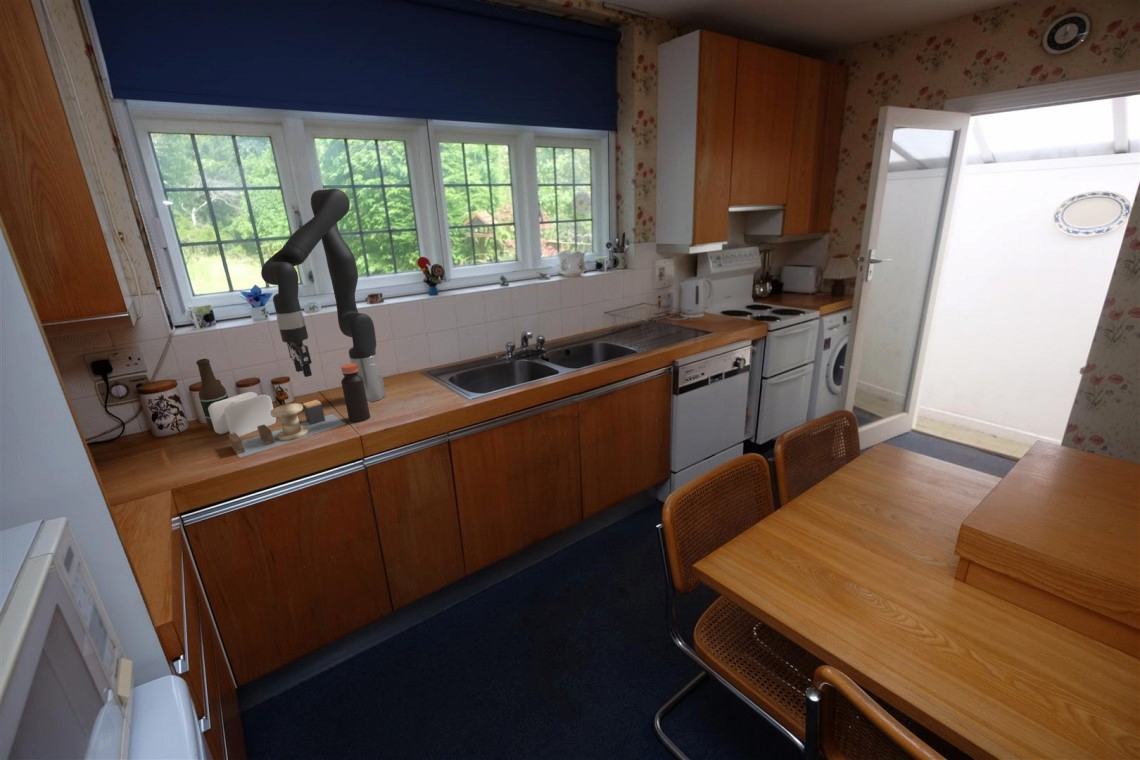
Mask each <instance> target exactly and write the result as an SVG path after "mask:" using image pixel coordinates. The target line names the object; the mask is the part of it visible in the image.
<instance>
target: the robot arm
mask: <svg viewBox="0 0 1140 760" xmlns="http://www.w3.org/2000/svg"><path fill="white" fill-rule="evenodd" d="M310 207H311V210H312V213H313V217H312V218H310V220H308V221H307V222H305V223H304V224H303V225H301V226H300V227H299V228H298V229H297V230H296V231H294V232H293V233H292V234H291V236H290V237H289V238H288V240H287V241H286V242H285V243H284V245H283V246H282V248H281V249H280V250H278V251H277V252H276V253H274V254H273V255H272V256H271V257H270V258H268V259H267V260H266V261H265V263H263V266H262V268H261V269H260V271H261V272H260V275H261V278H262V280H263V281H264V282H265V283H267V284H268V285H272V286H277V288H278V290H277V292H278V293H276V294H274V295H273V296H272V302H273V306H274V311H275V314H276V321H277V325H278V329H279V333H280V337H281V340H282V342H283V343H286V345H287V350H288V353H289V358H290V359H291V360H292V362H293V365H294V368H295V372H298V373H300V372H302V373H303V376H304V377H305V378H307V377H308V378H309V377H312V375H313V374H312V369H311V364H312V363H313V362H312V359H311V355H310V351H309V346H308V345H305V344H304V342H303V341H305V340H307V339H308V338H309V334H308V330H307V325H306V322H305V318H304V315H303V311H302V308H301V305H300V299H299V274H298V272H297V269H296V266H300V265H301V264H304V262H305V261H306V260H307V259H308V257H309V255H310V254H311V253H312V251H313V250H314V249H315V247H316V246H317V245H318V244H319V242H320V241H321V242H322V246H323V251H324V253H325V259H326V264H327V265H326V266H327V269H328V274H329V277H330V280H331V285H332V290H333V294H334V299H335V304H336V313H337V321H338V322H337V323H338V326H339V330H340V331H341V333H342V334H343V335H344V336H346V337H349V338H351V339H352V347H350V348H349V350H348V356H349V361H350V364H351V363H354V364H357V367H358V375H359V376H361V377H362V378H363V382H364V387H365V392H366V397H367V402H369V403H373V402H376V401H377V402H378V401H379V400H382V399H383V398H386V397H387V396H386V390H385V386H384V385H385V384H384V379H383V373H381V372H380V369H379V368H380V367H379V362H378V358H377V352H376V349H377V338H376V329H375V324H374V321H373V319H372V317H371V316H369V314H366V313H361V312H359V310H358V308H357V301H356V290H357V287H358V286H357V285H358V279H359V273H358V266H357V262H356V258H355V255H354V253H353V251H352V249H351V247H349V245H348V244H347V242H346V241H345V240H344V238H343V237H342V235H341V232H340V231H339V227H338V222H340V221H341V220H342V219H343V218H344V217H345V216H346V215H347V214H348V213H349V210H350V207H351V202H350V199H349V197H348V194H346V193H345V192H344V190H341V189H339V188H325V189H317V190H315V191H313V193H312V194H311V197H310Z"/></svg>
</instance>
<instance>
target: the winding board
mask: <svg viewBox="0 0 1140 760" xmlns="http://www.w3.org/2000/svg"><path fill="white" fill-rule="evenodd" d="M324 417H325V421H323V422H319V423H316V424H313V425H311V424H310V423H308V422H307V421H304V422H301V423H300V426H306V427H308V430H309V432H308V434H307V435H305V436H303V437H301V438H298V439H295V440H290V441H280V440H278V439H277V434H278V433H279V432H280V431H282V430H283V429H282V428H281V429H278V430H275V431H271V432H272V436H273V439H274V443H273V444H269V445H267V444H266V443H265V442H264V441H263V440H262V439H261V438H260V435H258V436H255V437H251V438H248V439H244V440H242V443H243V446H244V450H245V452H244V453H241V454H237V453H236V455H237V456H238V457H239V459H240V458H243V457H247V456H250V455H254V454H256V453H260V452H263V451H267V450H268V449H272V448H275V447H278V446H281V445H284V444H287V443H292V442H294V441H297V440H300V439H304V438H306V437H310V436H313V435H316V434H319V433H323V432H326V431H329V430H332V429H335V428H339V427H342V426H345V425H347V423H345V422H344V421H343V420H341V419H340V418H339V417H337V416H336V415H334V414H329V415H324Z"/></svg>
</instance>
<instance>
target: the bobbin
mask: <svg viewBox="0 0 1140 760" xmlns="http://www.w3.org/2000/svg"><path fill="white" fill-rule="evenodd" d="M273 408H274V409H273V410H271V412H270V413H271V416H272V417H276V418H279V422H280V426H281V429H283V430H282V431H280V432H279V433H278V434H277V439H278V440H280V441H290V440H294V441H296V440H295V439H297V440H299V439H298V438H301V437H303V436H305V435H307V434H308V432H309V430H308V427H306V426H300V424H301V423H300V420H299V417H298V414H299V413H301V412H302V411H304V407H303V403H302V404H301V403H288V404H282V405H280V406H277V407H273ZM301 439H302V438H301Z"/></svg>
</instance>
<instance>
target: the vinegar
mask: <svg viewBox="0 0 1140 760" xmlns="http://www.w3.org/2000/svg"><path fill="white" fill-rule="evenodd" d="M340 368H341V373H342V375H343V378H342V379H341V381H340V383H341V388H342V389H341V390H342V392H343V398H344V401H345V406H346V411H347V415H348V420H349V422H350V423H355V424H357V423H362V422H366V421H368V420H369V419H371V413H370V407H369V404H368V402H369V401H367V397H366V392H365V387H364V382H363V378H362V377H361V376H359V375H358V367H357V364H354V363H351V362H350V363H347V364H346V363H345V364H343V365H341V366H340Z"/></svg>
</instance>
